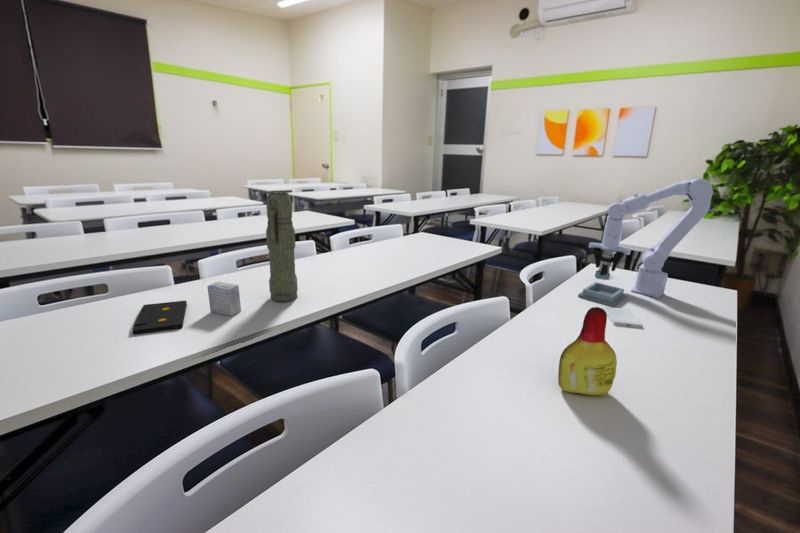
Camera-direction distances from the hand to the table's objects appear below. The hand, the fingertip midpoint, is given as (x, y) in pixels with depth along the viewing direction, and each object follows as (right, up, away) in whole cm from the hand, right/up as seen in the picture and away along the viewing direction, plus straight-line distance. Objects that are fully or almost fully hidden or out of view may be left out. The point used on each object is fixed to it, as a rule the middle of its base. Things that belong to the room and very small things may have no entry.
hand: (605, 268), depth 156 cm
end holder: (-7, -10, -11) cm, 16 cm away
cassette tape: (-149, -15, -40) cm, 155 cm away
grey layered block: (-133, -13, -35) cm, 138 cm away
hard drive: (-9, -16, -28) cm, 34 cm away
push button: (0, -4, +1) cm, 4 cm away
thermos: (-119, -10, -22) cm, 121 cm away
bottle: (-40, -27, -67) cm, 83 cm away
